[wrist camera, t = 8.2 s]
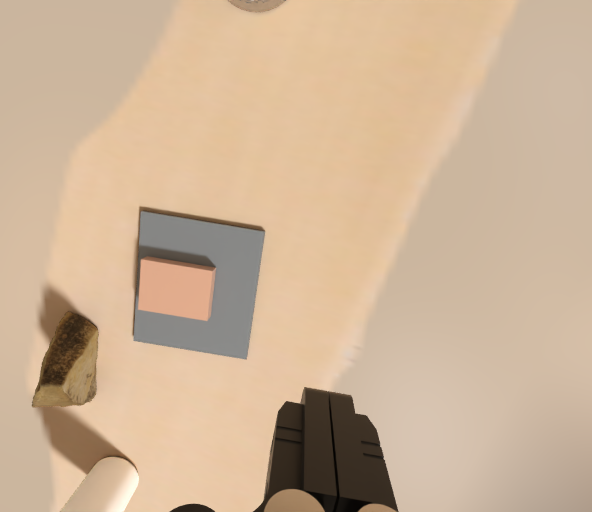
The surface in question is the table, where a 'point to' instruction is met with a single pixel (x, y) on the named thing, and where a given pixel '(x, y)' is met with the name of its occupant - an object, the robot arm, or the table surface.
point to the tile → (176, 288)
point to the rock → (69, 365)
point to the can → (105, 487)
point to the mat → (227, 288)
